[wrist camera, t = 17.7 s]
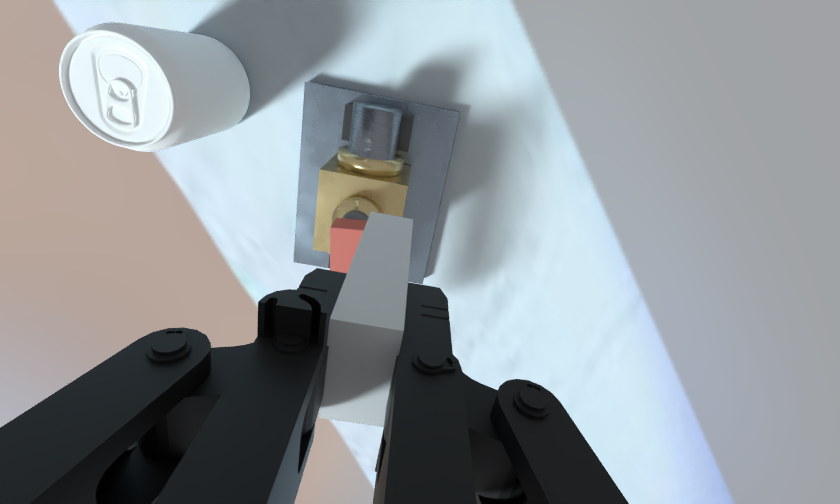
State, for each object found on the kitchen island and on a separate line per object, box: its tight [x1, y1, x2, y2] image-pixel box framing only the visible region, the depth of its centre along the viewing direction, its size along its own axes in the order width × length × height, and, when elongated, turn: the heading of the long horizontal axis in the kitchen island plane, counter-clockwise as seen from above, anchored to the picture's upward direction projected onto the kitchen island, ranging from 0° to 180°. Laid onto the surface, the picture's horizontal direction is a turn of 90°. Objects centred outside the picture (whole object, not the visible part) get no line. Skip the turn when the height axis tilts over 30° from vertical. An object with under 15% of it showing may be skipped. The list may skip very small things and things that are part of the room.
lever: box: [330, 210, 369, 273], centre depth 33 cm, size 17×3×4 cm, turn 175°
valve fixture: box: [294, 81, 460, 284], centre depth 36 cm, size 18×14×10 cm
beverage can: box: [59, 23, 250, 152], centre depth 31 cm, size 8×8×12 cm
